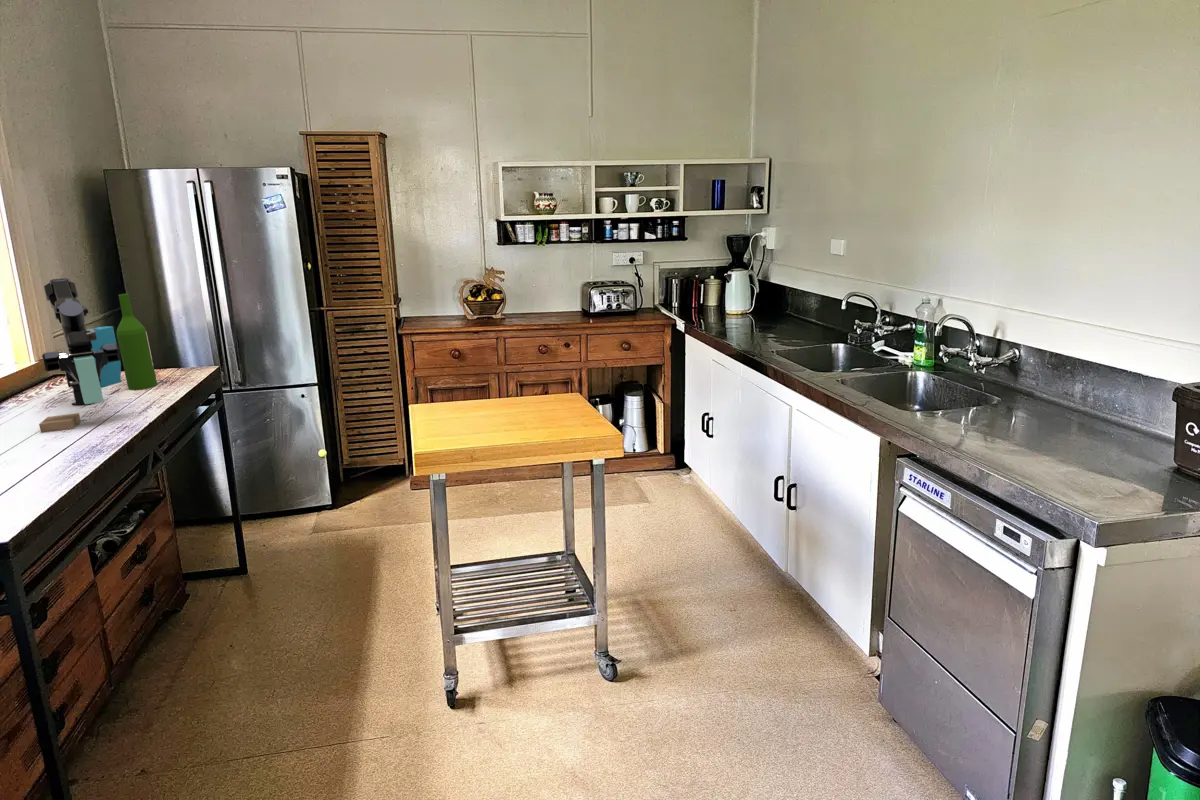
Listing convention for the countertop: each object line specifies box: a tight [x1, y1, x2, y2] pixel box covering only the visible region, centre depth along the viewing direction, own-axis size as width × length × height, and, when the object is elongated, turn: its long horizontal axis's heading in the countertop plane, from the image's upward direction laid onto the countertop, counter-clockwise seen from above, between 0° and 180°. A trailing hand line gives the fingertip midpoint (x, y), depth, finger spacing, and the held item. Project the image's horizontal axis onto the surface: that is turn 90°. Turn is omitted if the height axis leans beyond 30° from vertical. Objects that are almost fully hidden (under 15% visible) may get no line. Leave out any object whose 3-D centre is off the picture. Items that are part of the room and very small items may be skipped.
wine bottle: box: [116, 293, 158, 391], centre depth 266 cm, size 9×9×32 cm
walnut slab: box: [38, 412, 82, 434], centre depth 224 cm, size 8×8×3 cm
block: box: [91, 325, 122, 389], centre depth 274 cm, size 12×5×20 cm, turn 164°
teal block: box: [74, 355, 104, 405], centre depth 223 cm, size 5×5×13 cm
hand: (88, 380), depth 221 cm, fingers closed on teal block, 5 cm apart
